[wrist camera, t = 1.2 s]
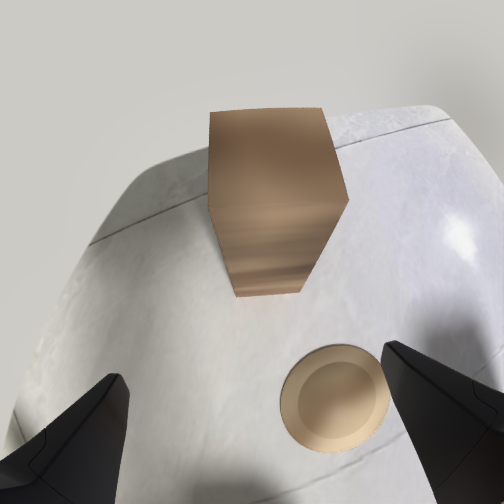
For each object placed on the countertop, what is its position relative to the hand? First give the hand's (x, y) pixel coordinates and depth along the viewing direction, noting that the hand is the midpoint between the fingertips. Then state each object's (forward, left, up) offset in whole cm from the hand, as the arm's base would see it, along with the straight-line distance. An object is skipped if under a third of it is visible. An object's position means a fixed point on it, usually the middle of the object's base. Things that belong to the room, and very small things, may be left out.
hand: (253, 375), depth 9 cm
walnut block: (+4, -7, -13) cm, 16 cm away
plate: (-7, -1, -13) cm, 15 cm away
